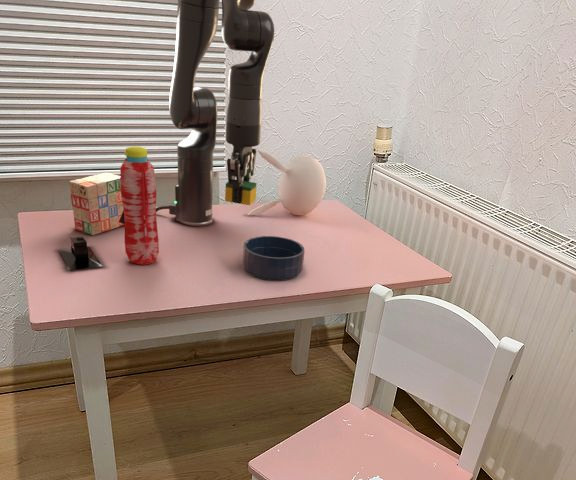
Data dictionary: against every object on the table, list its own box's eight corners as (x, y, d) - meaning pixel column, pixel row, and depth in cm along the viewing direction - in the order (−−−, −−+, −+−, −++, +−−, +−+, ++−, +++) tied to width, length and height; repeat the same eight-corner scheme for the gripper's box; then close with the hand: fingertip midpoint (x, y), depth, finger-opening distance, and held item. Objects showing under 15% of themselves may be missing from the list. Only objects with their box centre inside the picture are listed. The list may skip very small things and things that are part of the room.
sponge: (225, 201, 132) (225, 183, 130) (231, 196, 136) (231, 178, 134) (249, 205, 131) (250, 187, 129) (255, 200, 135) (256, 182, 133)
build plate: (103, 268, 129) (101, 248, 126) (69, 272, 126) (66, 251, 123) (89, 247, 138) (87, 228, 135) (57, 251, 135) (54, 231, 132)
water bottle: (117, 250, 138) (107, 139, 124) (150, 247, 141) (144, 139, 127) (130, 270, 129) (121, 153, 115) (165, 266, 133) (160, 152, 119)
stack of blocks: (135, 211, 162) (132, 166, 156) (151, 216, 160) (149, 171, 153) (74, 229, 147) (68, 180, 140) (92, 235, 144) (86, 185, 138)
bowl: (234, 274, 132) (235, 251, 129) (253, 253, 144) (254, 232, 141) (293, 285, 130) (296, 262, 127) (308, 263, 141) (310, 242, 138)
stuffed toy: (329, 154, 172) (250, 140, 163) (347, 169, 162) (263, 156, 153) (313, 214, 183) (238, 204, 173) (328, 232, 173) (249, 223, 163)
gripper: (237, 113, 130) (234, 189, 140) (215, 122, 119) (214, 205, 128) (269, 117, 129) (264, 194, 139) (250, 128, 118) (246, 211, 127)
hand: (240, 199), depth 133 cm, fingers closed on sponge, 4 cm apart
